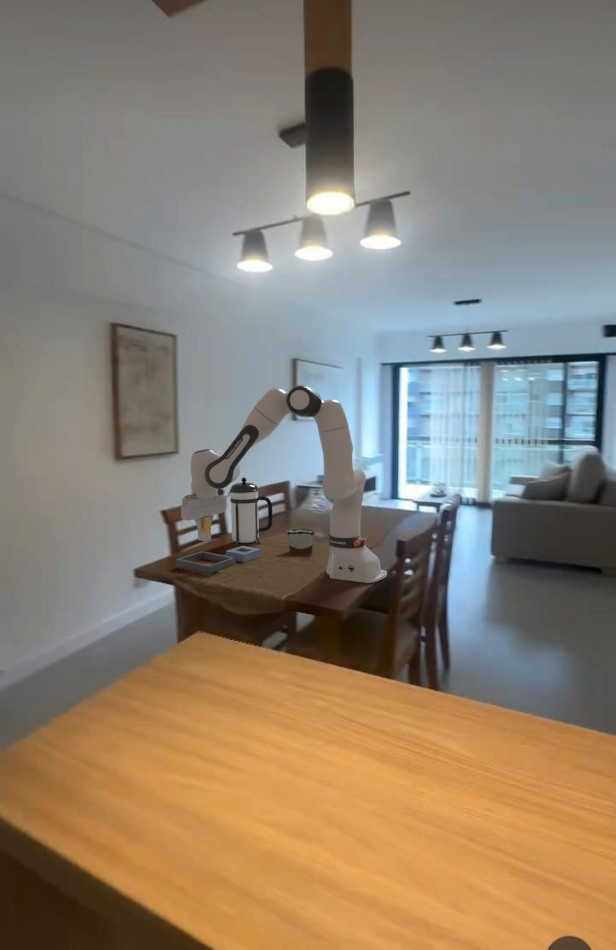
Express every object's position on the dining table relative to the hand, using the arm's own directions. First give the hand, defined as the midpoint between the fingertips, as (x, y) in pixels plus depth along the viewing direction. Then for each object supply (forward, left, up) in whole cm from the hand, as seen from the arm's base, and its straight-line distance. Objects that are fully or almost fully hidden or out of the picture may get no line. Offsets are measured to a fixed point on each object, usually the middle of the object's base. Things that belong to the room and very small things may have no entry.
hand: (204, 528), depth 209 cm
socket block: (-5, -16, -15) cm, 23 cm away
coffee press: (+12, -38, -16) cm, 43 cm away
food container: (-18, -38, -16) cm, 45 cm away
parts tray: (0, 0, -15) cm, 15 cm away
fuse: (0, 0, -5) cm, 5 cm away
